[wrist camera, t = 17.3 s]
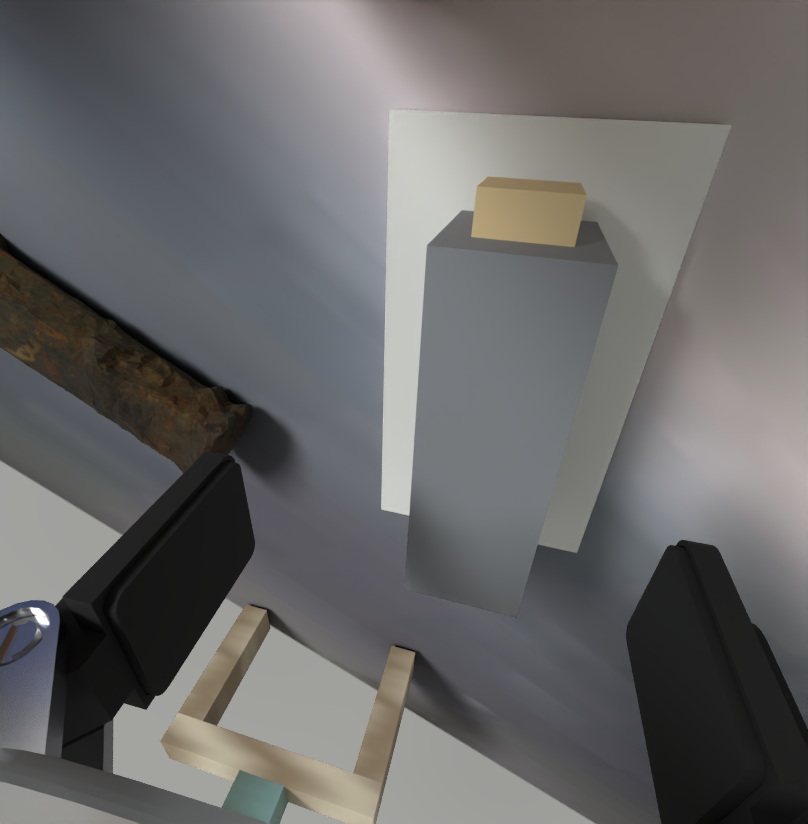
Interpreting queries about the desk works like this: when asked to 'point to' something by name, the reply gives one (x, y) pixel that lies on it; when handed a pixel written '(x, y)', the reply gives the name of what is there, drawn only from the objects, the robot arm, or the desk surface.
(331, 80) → the desk surface
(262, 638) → the wooden arch block
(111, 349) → the hand tool
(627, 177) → the mat
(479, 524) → the grey block with cap
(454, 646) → the desk surface
